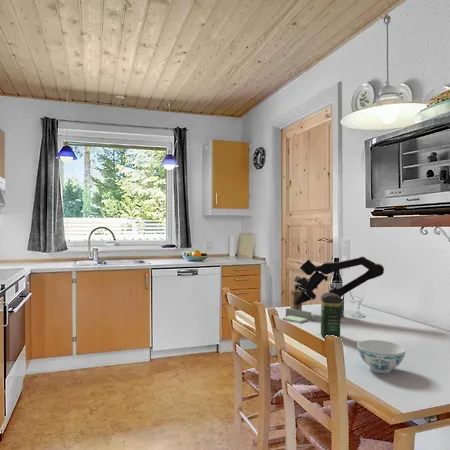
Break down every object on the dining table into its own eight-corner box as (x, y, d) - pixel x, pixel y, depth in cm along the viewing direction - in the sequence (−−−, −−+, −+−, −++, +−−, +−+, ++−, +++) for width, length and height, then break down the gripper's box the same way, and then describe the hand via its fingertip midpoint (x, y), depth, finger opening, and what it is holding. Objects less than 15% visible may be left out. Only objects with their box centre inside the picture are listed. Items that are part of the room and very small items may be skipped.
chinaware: (348, 369, 134) (348, 345, 134) (369, 358, 144) (369, 337, 144) (393, 382, 123) (394, 357, 123) (412, 370, 134) (412, 347, 134)
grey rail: (311, 320, 201) (311, 312, 201) (310, 320, 200) (310, 312, 200) (287, 315, 210) (287, 308, 210) (285, 316, 209) (285, 308, 209)
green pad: (307, 320, 200) (307, 318, 200) (300, 323, 194) (300, 321, 194) (290, 317, 206) (290, 315, 206) (282, 319, 201) (282, 317, 201)
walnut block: (298, 314, 213) (298, 289, 213) (301, 316, 209) (302, 291, 209) (290, 314, 213) (290, 290, 212) (293, 316, 208) (293, 291, 208)
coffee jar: (342, 340, 167) (342, 295, 167) (322, 339, 168) (323, 294, 168) (337, 333, 177) (338, 291, 177) (319, 333, 178) (320, 291, 177)
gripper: (297, 268, 220) (277, 289, 219) (310, 273, 202) (289, 295, 200) (311, 283, 222) (291, 303, 220) (325, 288, 203) (303, 310, 202)
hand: (293, 302), depth 210 cm, fingers open, 7 cm apart
